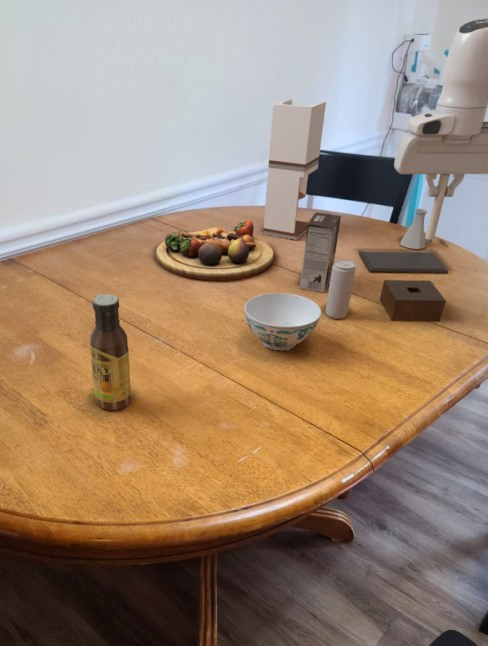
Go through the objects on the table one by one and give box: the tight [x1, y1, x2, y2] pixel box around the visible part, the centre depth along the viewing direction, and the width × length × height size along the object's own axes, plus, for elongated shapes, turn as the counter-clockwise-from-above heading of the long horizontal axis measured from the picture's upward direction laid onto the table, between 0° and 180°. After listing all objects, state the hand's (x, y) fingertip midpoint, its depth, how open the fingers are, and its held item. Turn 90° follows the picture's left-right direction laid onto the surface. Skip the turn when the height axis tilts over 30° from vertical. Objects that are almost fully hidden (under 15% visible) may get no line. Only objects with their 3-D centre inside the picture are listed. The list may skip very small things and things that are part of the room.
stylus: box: [425, 174, 451, 244], centre depth 117 cm, size 2×2×14 cm
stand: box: [379, 279, 447, 323], centre depth 127 cm, size 11×11×5 cm
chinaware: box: [244, 292, 322, 352], centre depth 114 cm, size 15×15×8 cm
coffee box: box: [299, 212, 342, 293], centre depth 135 cm, size 9×6×16 cm
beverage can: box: [325, 259, 357, 320], centre depth 123 cm, size 5×5×12 cm
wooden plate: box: [155, 219, 275, 281], centre depth 151 cm, size 32×32×8 cm
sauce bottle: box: [89, 293, 132, 411], centre depth 93 cm, size 6×6×20 cm
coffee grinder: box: [262, 98, 327, 241], centre depth 161 cm, size 11×11×35 cm
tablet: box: [358, 251, 449, 275], centre depth 150 cm, size 20×13×1 cm, turn 88°
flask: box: [400, 208, 428, 250], centre depth 159 cm, size 7×7×10 cm
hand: (439, 196), depth 115 cm, fingers closed on stylus, 2 cm apart
